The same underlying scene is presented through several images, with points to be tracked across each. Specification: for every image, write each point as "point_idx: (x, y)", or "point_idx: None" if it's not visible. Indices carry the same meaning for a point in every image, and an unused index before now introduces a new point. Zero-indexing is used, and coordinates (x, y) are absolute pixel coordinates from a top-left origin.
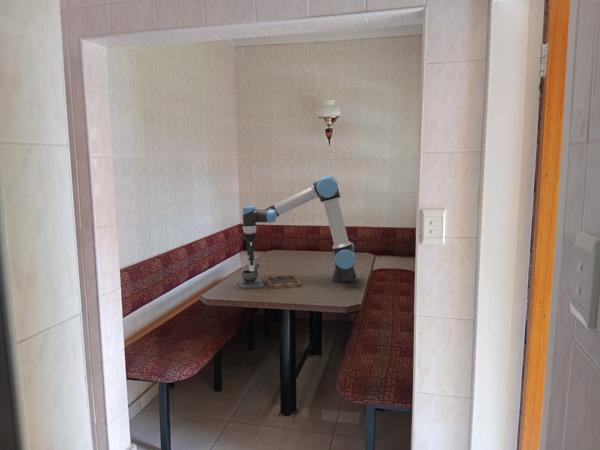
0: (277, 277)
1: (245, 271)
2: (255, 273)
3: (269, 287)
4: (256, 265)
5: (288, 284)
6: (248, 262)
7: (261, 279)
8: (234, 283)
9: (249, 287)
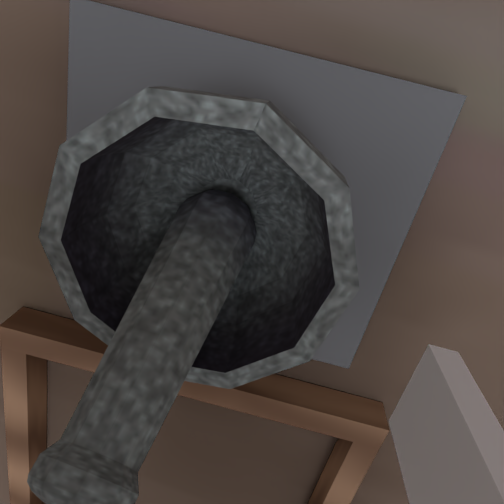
0: (320, 496)
1: (326, 218)
2: (79, 309)
3: (15, 315)
4: (53, 447)
5: (11, 456)
6: (453, 433)
7: (340, 366)
8: (420, 11)
9: (73, 135)
